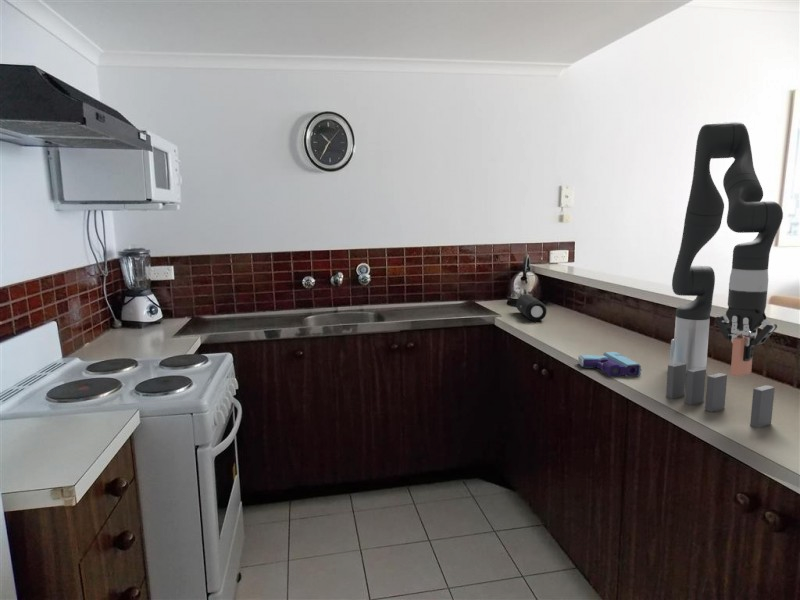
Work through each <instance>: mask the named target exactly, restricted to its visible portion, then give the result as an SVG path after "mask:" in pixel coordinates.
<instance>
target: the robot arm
mask: <svg viewBox="0 0 800 600" xmlns="http://www.w3.org/2000/svg"><path fill="white" fill-rule="evenodd" d="M752 153H753V152H752V147H751V141H750V135H749V132H748V128H747V126H746V125H745V124H744V123H742V122H739V121H737V122H735V121H731V122H712V123H711V122H709V123H708V122H707V123H704V124H703V125H702V126H701V127H700V129H699V132H698V134H697V140H696V147H695V155H694V165H693V174H692V181H691V185H690V192H689V198H688V201H687V206H686V210H685V216H684V217H685V218H684V223H683V230H682V236H681V242H680V247H679V250H678V255H677V259H676V263H675V266H674V270H673V274H672V279H671V281H672V282H671V289H672V292H673V293H674V294H675V295H677V296H680V297H681V296H684V297H691V296H692V297H695V298H694V299H693V300H692V301H690V302H688V303H685V304H683V305H680V306H678V307H677V308H676V310H675V322H674V323H675V324H674V325H675V326H674V337H673V338H672V339H670V340H671V341H670V352H669V353H670V354H669V365H670V364H675V363H680V362H681V363H685V364H686V375H687V370H690V369H695V368H699V367H700V368H704V369H706V370H707V359H708V349H709V347H708V346H709V335H710V320H711V319H710V318H711V312H712V308H713V307H712V306H713V297H714V293H715V292H714V290H715V285H716V284H715V282H716V275H715V270H714V268H713V267H712V266H709V265H692V264H693V262H694V260H695V257H696V256H697V254H699V252H700V251H701V250H702V248H704V247H705V245H707V244H708V243H709V241H710V240H711V239H712V238H713V237H714V236H716V234H717V232H718V231H719V229H720V228H721V225H722V220H723V215H724V210H725V202H724V199H723V197H722V195H721V194H720V192H719V189H718V188H717V186H716V184H715V182H714V180H713V178H712V175H711V170H710V169H711V168H710V167H711V164H710V163H711V159H712V160H713V159H731V158H733V159H734V160H733V162H732V163H731V165H730V166H729V167H728V168H727V170H726V172H725V173H724V175H723V180H722V184H723V189H724V191H725V195H726V197H727V200H728V201H727V202H728V209H727V216H726V225H727V227H728V228H729V229H730V231H733V232H734V233H741V234H742V233H744V234H745V233H747V234H749V233H752V234H753V233H758V234H757V235H756V237H755V238H754V239H753V240H751V241H748V242H742V243H738V244H736V245H735V246H734V247H733V251H732V260H731V261H732V262H731V271H730V275H729V283H728V294H727V295H728V297H727V307H728V308H727V310H726V312H725V314H723V315H720V316H719V315H718V316H716V317H715V322H716V323H717V325H718V328H719V330H720V331H721V334H722V336H723V338H724V339H725V340H728V341H731V343H732V344H733V338H736V337H741V336H744V339H745V341H744V345H745V346H744V355H743V361H750V359H752V360H753V357H754V350H755V346H758V345H763V344H764V343H765V342H766V340H768V339H769V338H770V336H771V335H772V334H773V333H774V332H775V331H776V330H777V328H778V324H776V323H771V322H770V321H769V320H768V319H767V315H766V313H765V311H766V307H767V301H768V287H769V262H770V253H771V249H772V247H773V244H774V241H775V238H776V235H777V234H778V231H779V229H780V227H781V225H782V222H783V219H784V212H783V208H782V207H781V205H780V204H779V203H778V202H776V201H771V200H770V201H769V200H768V201H767V200H765V201H762V199H763V197H764V190H763V188H762V184H761V182H760V181H759V178H758V176H757V173H756V170H755V167H754V166H755V165H754V161H753V154H752ZM760 327H761V328H760ZM759 328H760V329H761V330H760V332H759V333H758V329H759ZM732 348H733V345H732V347H731V349H732Z"/></svg>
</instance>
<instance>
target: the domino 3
mask: <svg viewBox="0 0 800 600" xmlns="http://www.w3.org/2000/svg"><path fill="white" fill-rule="evenodd" d="M706 377H707V378H706V390H705V401H704V402H705V403H704V411H706V410H707V412H709V411H710V413H714V412H713V411H715V412H718V411H721V410H724V409H725V405H726V394H727V382H728V381H727V380H728V374H726V373H723V372H717V373H715V374H710V375H706Z"/></svg>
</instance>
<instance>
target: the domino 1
mask: <svg viewBox="0 0 800 600" xmlns="http://www.w3.org/2000/svg"><path fill="white" fill-rule="evenodd" d="M666 373H667V374H666V375H667V376H666V391H665V393H666V394H665V397H666V398H668V399H671V400H673V399H676V398H680V397H683V396H684V397H685V392H686V378H687V374H686V364H685V363H681V362H680V363H675V364H670V363H669V364H668V365H667V372H666Z"/></svg>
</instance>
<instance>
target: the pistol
mask: <svg viewBox="0 0 800 600" xmlns="http://www.w3.org/2000/svg"><path fill="white" fill-rule="evenodd" d="M578 364H579V365H580V367H583V368H589V369H590V368H591V369H594V368H593V367H597V368H596V369H600V370H601V371H602V373H603V374H605V373H606V375H607V376H609V377H619V376H624V377H631V376H634V375H636V376H634V377H639V376H641V373H642V366H641V365H640V364H639V363H638V362H636V361H634V360H632V359H630V358H629V357H626V356H625V355H623V354H620V353H618V352H617V351H606V352H603V355H596V354H588V355H587V354H585V355H583V354H582V355H578Z"/></svg>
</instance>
